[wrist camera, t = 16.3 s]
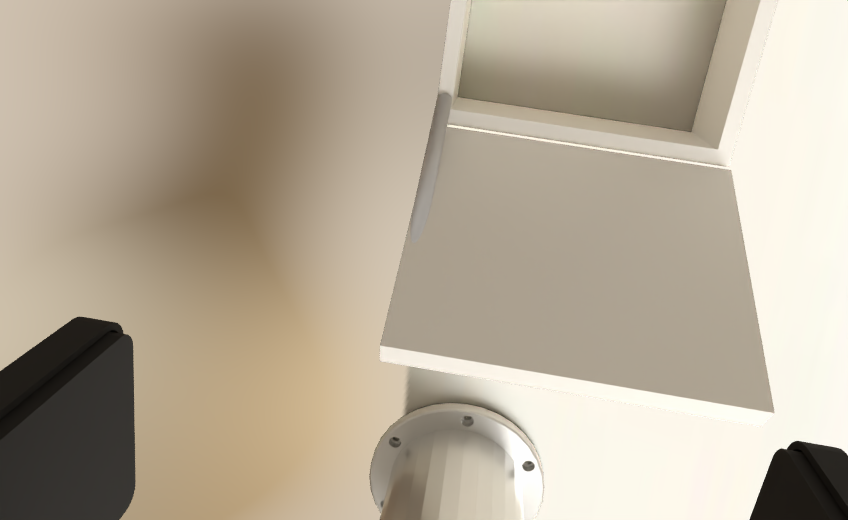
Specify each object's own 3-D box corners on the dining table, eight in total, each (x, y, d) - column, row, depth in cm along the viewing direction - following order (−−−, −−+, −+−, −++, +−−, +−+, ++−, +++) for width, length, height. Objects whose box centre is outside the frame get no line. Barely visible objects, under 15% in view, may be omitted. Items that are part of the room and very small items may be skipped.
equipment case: (666, 273, 44) (766, 435, 27) (424, 234, 45) (377, 368, 28) (783, -150, 36) (1029, -291, 19) (484, -188, 37) (466, -355, 20)
